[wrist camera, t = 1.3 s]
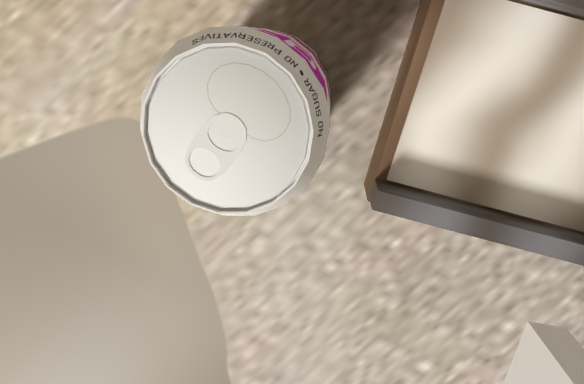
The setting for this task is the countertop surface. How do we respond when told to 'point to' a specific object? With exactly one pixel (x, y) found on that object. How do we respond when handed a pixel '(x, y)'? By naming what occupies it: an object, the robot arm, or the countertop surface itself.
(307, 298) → the countertop surface
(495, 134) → the wooden tray
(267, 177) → the supplement can
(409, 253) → the countertop surface
